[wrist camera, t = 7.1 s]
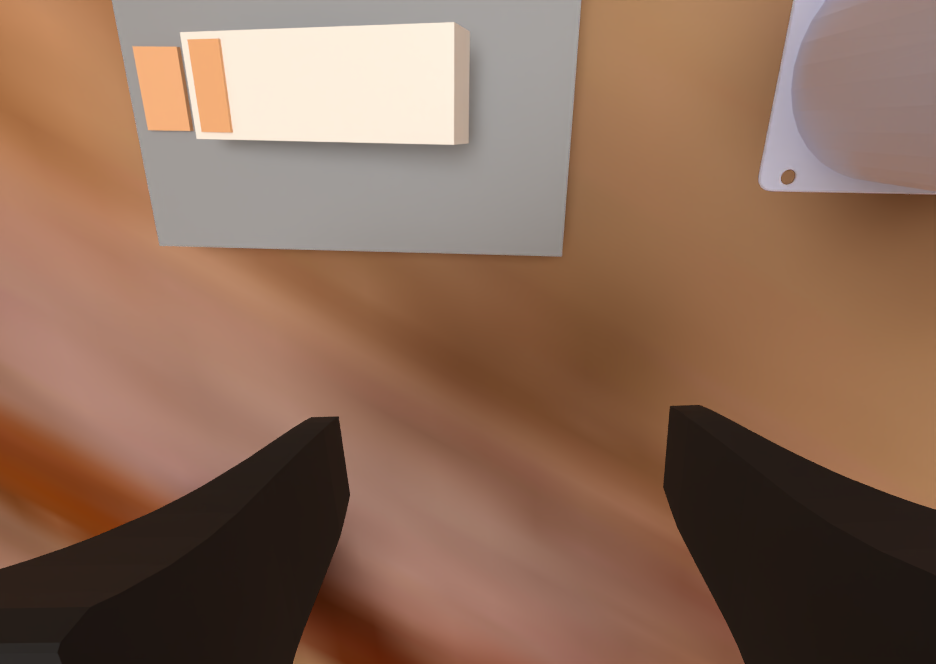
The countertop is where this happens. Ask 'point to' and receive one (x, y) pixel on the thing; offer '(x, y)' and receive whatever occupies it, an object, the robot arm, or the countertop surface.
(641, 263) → the countertop surface
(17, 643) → the robot arm
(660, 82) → the countertop surface
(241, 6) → the panel
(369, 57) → the rocker
